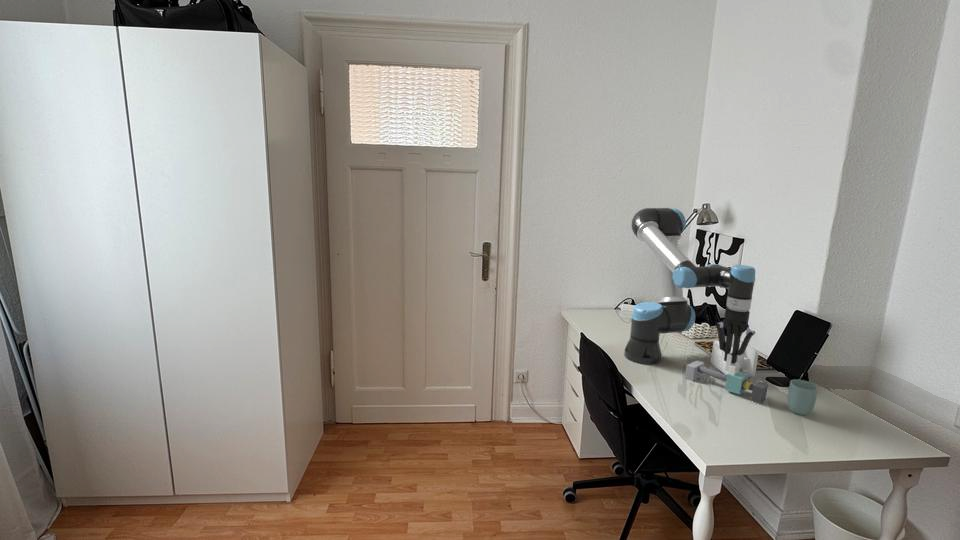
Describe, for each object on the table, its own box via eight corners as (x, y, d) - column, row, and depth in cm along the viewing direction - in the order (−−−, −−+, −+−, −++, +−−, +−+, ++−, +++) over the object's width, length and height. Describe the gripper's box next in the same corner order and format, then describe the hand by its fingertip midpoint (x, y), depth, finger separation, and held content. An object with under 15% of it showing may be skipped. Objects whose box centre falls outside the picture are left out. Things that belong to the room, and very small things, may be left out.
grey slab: (685, 378, 177) (686, 365, 175) (695, 372, 182) (696, 360, 180) (692, 381, 174) (694, 368, 173) (702, 375, 179) (704, 362, 178)
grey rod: (694, 371, 176) (695, 365, 176) (697, 370, 178) (698, 363, 177) (753, 392, 160) (754, 386, 160) (756, 390, 162) (757, 383, 161)
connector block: (750, 400, 160) (753, 385, 159) (756, 396, 163) (758, 381, 162) (759, 404, 158) (762, 388, 157) (765, 400, 161) (768, 384, 160)
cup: (813, 420, 148) (819, 392, 146) (785, 413, 152) (790, 385, 150) (812, 410, 155) (817, 383, 152) (784, 403, 159) (789, 377, 156)
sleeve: (724, 389, 166) (728, 366, 164) (732, 384, 170) (735, 362, 168) (739, 394, 162) (743, 371, 160) (746, 389, 166) (750, 366, 164)
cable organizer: (756, 380, 176) (761, 352, 174) (730, 380, 175) (734, 352, 173) (732, 364, 191) (736, 338, 188) (708, 364, 190) (712, 338, 188)
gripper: (714, 306, 165) (706, 366, 170) (753, 315, 155) (743, 379, 160) (723, 302, 169) (715, 362, 174) (762, 311, 159) (752, 374, 164)
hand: (728, 370), depth 167 cm, fingers closed
